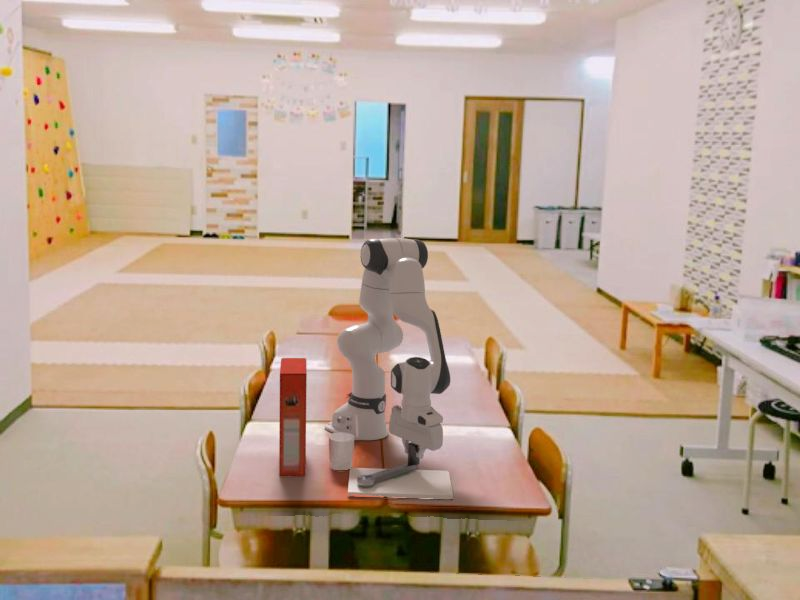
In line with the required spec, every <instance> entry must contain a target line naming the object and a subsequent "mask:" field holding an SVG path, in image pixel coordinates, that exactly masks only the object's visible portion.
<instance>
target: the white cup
mask: <svg viewBox="0 0 800 600" xmlns="http://www.w3.org/2000/svg"><path fill="white" fill-rule="evenodd" d="M354 439H355V437H354V435H352V434H350V433H344V432H338V433H333V432H332V433H331V434H329V436H328V452H329V453H328V454H329V455H328V458H329V467H330V469H331V468H332V469H334V470H333V471H335V470H346V469H350V468H351V467H352V468H353V459H354V450H355V449H354V448H355V440H354ZM332 469H331V470H332Z"/></svg>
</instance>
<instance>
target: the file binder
mask: <svg viewBox="0 0 800 600" xmlns="http://www.w3.org/2000/svg"><path fill="white" fill-rule="evenodd" d="M279 368H280V369H279V440H278V441H279V445H278V446H279V450H278V451H279V453H278V455H279V456H278V457H279V458H278V459H279V465H278V467H279V471H278V474H279V477H280V476H293V477H305V476H306V471H307V470H306V467H307V466H306V465H307V464H306V463H307V460H306V459H307V458H306V457H307V456H306V455H307V452H306V451H307V450H306V448H307V377H308V376H307V375H308V373H307V371H308V370H307V358H306V357H281V358H280V367H279Z"/></svg>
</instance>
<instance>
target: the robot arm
mask: <svg viewBox="0 0 800 600" xmlns="http://www.w3.org/2000/svg"><path fill="white" fill-rule="evenodd" d="M360 248H361V250H360V263H361V265H362V266H363V268H364V269H363V273H362V278H361V279H362V280H361V284H360V285H361V287H360V291H359V300H358V301H359V302H358V304H359V306H360V307H361V309H362V310H363V311H364V312H365V313H366V314H367V321H366V322H365V323H358V324H353V325H350V326H348V327H345V328H344V329H342V330H341V331H340V332H339V333H338V335H337V338H336V340H337V341H336V343H337V344H336V346H337V349H338V351H339V353H340V355H342V356H343V357H345V358H346V360H347V361H348V363H349V365H350V368H351V372H352V392H350V393H347V394H346V397H345V398H346V399H347V398H348V400H347V402H346V403H345V404H343V405H341V406H340V407H338V408H337V409H336V410H334V412H333V414H332V417H331V421H330V422H328V423H326V424H325V426H324V429H325V430H326V431H328V432H331V433H332V434H333V433H338V432H344V433H350V434H352V435H354V437H355V439H354V441H376V440H381V439H384V438H386V437H387V436H388V435H389V434H390V435H393V436H395V437H397V438H401V442H402V445H403V447H404V454H407V455H408V444H409V443H411V442H412V443H415V444H417V445H419V449H420V450H419V452H416V458H418V459H420V460H422V459H423V458H424V453H425V452H426V450H430V451H432V452H435V451H437V450H441V448H442V447H443V442H444V430H443V426H442V423H443V421H444V417H443V415H442V414H440V413H439V412H438V411H437V410H436V409H435V408H434V407H433V406H432V400H431V394H433V395H434V394H436V395H441V394H443V393H444V392H445V391H446V390H447V389H448V388H449V387H450V385H451V373H450V369H449V366H448V362H447V359H446V358H447V357H446V353H445V349H444V343H443V338H442V332H441V327H440V323H439V320H438V317H437V314H436V312H435V310H433V309H432V308H430V306H429V305H428V303H427V298H426V288H425V287H426V286H425V277H424V271H423V269H424V268H425V266H426V265H427V263H428V259H429V253H428V247H427V246H426V243H425V242H424V241H422V240H420V239H416V238H406V237H405V238H404V237H391V238H390V237H389V238H388V237H386V238H378V237H375V238H370V239H367V240H365V241H364V243H363V244H362V246H361V247H360ZM394 316H395V317H396V318H397V319H398V320H400V321H401V322H404V323H406V324H408V325H410V326H414V327H417V328H418V329H420V330H421V331H422V332H423V333H424V334H425V336H426V340H427V346H428V351H429V357H430V360H427V359H426V358H423V357H420V356H414V357H409V358H407V359H406V360H405V362H399V363H396V364H395V365H394V366H393V368H391V371H390V386H391V388H392V390H394V391H395V392H396V393H397V394H401V395H402V399H401V406H400V405H398V404H395V405H393V406H392V408H391V414H390V416H389V420H388V421H389V422H388V428H387V422H386V405H387V394H386V376H387V375H386V372H385V370H384V369H383V368H382V367H381V366H379V365H377V361H376V355H378V354H384V353H388V352H390V351H393V350H395V349H397V348H398V347H400V346H401V345H402V344H403V343H402V342H403V339H404V333H403V332H404V331H403V329H402V327H401V325H400V323H398V322H397V321H396V319H395V317H394Z"/></svg>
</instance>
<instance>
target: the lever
mask: <svg viewBox="0 0 800 600" xmlns="http://www.w3.org/2000/svg"><path fill="white" fill-rule="evenodd" d="M419 450H420V449H419V445H417V444H415V443H412V442H409V444H408V454H407V462H406V463H402V464H399V465H396V466H393V467H390V468H385V469H386V470H383V471H380V472H377V473H374V474H370V475H360V476H358V477H357V485H358V486H360V487H372V486H374V483H377V482H380V481H383V480H386V479H389V478H392V477H395V476H398V475H402V474H405V473H408V472H411V471H414V470H418V465H420V460H421V459H418V458H416V452H419Z"/></svg>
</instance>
